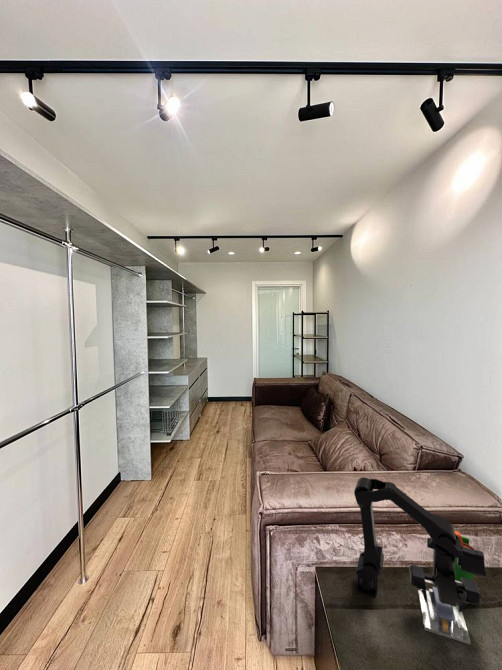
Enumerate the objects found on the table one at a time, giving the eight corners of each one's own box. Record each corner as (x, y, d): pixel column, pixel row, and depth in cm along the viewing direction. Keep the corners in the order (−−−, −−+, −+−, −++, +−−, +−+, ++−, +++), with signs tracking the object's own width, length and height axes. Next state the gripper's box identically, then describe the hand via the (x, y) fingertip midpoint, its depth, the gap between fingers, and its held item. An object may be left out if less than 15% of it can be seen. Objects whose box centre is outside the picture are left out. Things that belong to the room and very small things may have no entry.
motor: (483, 602, 101) (485, 547, 99) (454, 598, 103) (455, 544, 101) (468, 575, 111) (470, 525, 109) (441, 572, 113) (442, 522, 111)
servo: (438, 626, 94) (438, 611, 93) (432, 597, 103) (432, 583, 102) (453, 631, 92) (453, 616, 92) (445, 601, 101) (446, 587, 101)
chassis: (424, 629, 94) (424, 618, 93) (418, 592, 106) (418, 582, 105) (470, 644, 89) (471, 632, 89) (458, 603, 101) (459, 593, 101)
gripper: (413, 574, 92) (413, 620, 93) (488, 594, 85) (486, 644, 86) (409, 547, 102) (408, 588, 103) (476, 562, 95) (474, 607, 96)
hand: (442, 606), depth 97 cm, fingers open, 9 cm apart
